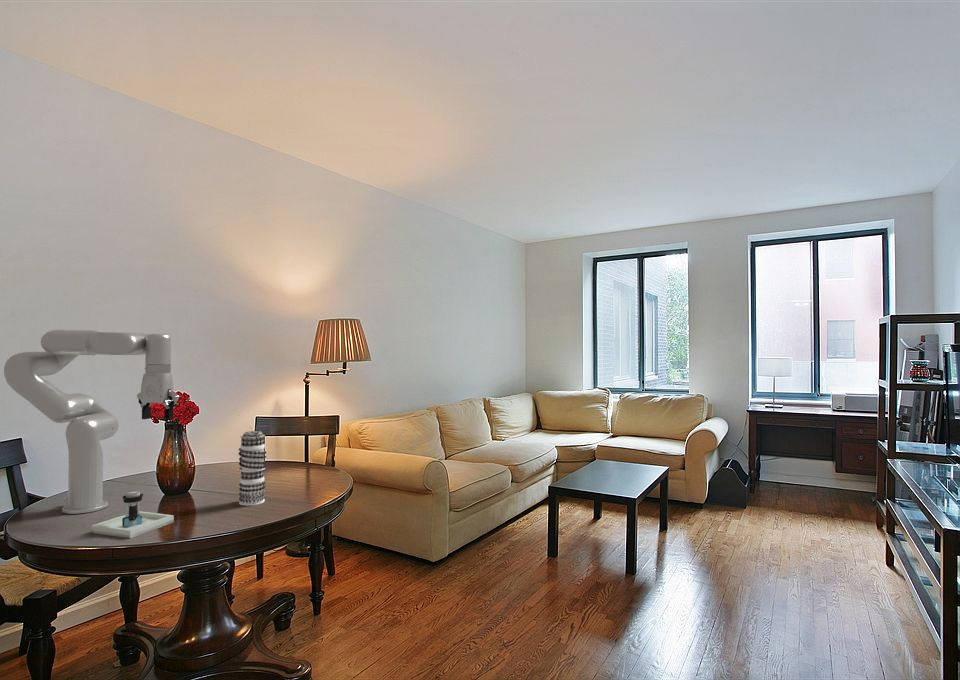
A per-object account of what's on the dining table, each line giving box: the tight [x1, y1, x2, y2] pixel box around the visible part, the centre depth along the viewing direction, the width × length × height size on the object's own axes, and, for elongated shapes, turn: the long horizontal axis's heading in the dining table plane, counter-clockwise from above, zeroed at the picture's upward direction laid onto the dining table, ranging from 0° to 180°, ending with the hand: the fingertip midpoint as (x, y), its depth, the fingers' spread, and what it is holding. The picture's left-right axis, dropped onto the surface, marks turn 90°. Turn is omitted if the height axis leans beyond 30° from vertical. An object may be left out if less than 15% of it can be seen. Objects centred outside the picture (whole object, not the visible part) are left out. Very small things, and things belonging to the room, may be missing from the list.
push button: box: [122, 490, 147, 528], centre depth 166 cm, size 7×5×10 cm
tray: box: [91, 510, 175, 539], centre depth 166 cm, size 15×15×2 cm
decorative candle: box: [238, 430, 267, 507], centre depth 193 cm, size 9×9×25 cm
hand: (157, 419), depth 186 cm, fingers open, 9 cm apart
